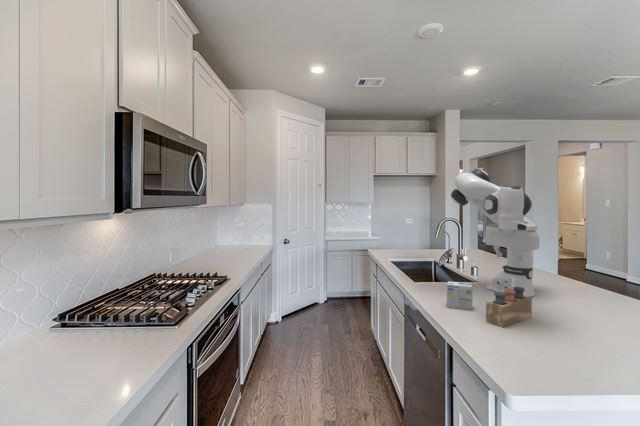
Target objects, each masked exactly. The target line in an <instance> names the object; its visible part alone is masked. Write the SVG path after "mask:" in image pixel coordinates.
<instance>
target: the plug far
mask: <svg viewBox="0 0 640 426" xmlns="http://www.w3.org/2000/svg"><path fill="white" fill-rule="evenodd" d="M513 290H515V294H514V298H517V299H521V300H522V299H523V292H524V288H522V287H513Z"/></svg>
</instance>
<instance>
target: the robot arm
mask: <svg viewBox="0 0 640 426" xmlns="http://www.w3.org/2000/svg"><path fill="white" fill-rule="evenodd" d="M454 186H455V188H454V189H453V190H452V192H451V193H450V197H451V199H452V201H453V203H455V204H457V205H459V206H461V207H463V206H466V205H468V204H469V202H472V204H473V205H474V206H475V207H476V208H477V209H478V210H479V211H480V212H481V213H482V214H483V215H485V216H486V217H487V218H488V219H490V220H491V221H492V222H493V223H489V224H487V225H486V227H485V237H484V244H486V245H487V246H493V250H494V252H495V255H496V257H497V258H502V257H503V252H501V251H500V247H501V248H502V247H504V248H506V254H507V255H506V264H505V265H502V266H501V269H503V271H502V272H500V273H498V274H496V275H494V276H493V277H492V278H491V281H490V284H488V285H486V287H485V288H486V290H489V291H493V292H504V289H511V290H513V287H522V288H524V292H523V296H525V297H529V298H532V297H534V296H535V295H536V294H535V291H534V286H533V285H534V284H533V276H534V271H533V270H534V269H533V267H532V266H533V259H532V258H533V251H537V250H539V248H540V236H539V233H538V232H537V230H538V225H537V224H535V223H534V222H533V221H531V220H530V219H529V218H527V217H526V216H525V215H527V214H528V213H529V212H530V211H531V209H532V206H533V203H532V202H533V201H532V200H531V198H530V197H529V195H528V194H527V193H525V192H524V190H523V187H522V186H520V185H517V184H504V185H501V186H500V185H497V184H495V183H492V182H491V178H490V176H489V174H488V173H487V171H484V170H482V169H480V168H475V169H474V170H473V169H472V171H471V172H461V173H459V174H458V175H456V177H455V178H454Z"/></svg>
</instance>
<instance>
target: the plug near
mask: <svg viewBox="0 0 640 426" xmlns="http://www.w3.org/2000/svg"><path fill="white" fill-rule="evenodd" d="M493 292H494V296H495V299H494V300H495V304H499V305H505V297H506V293H504V292H495V291H493Z"/></svg>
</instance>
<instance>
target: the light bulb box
mask: <svg viewBox="0 0 640 426" xmlns="http://www.w3.org/2000/svg"><path fill="white" fill-rule="evenodd" d="M446 284H447V285H446V307H447V308H453V309H459V310H466V311H468V310H469V311H473V283H472V282H471V283H469V282H457V281H447V283H446Z"/></svg>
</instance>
